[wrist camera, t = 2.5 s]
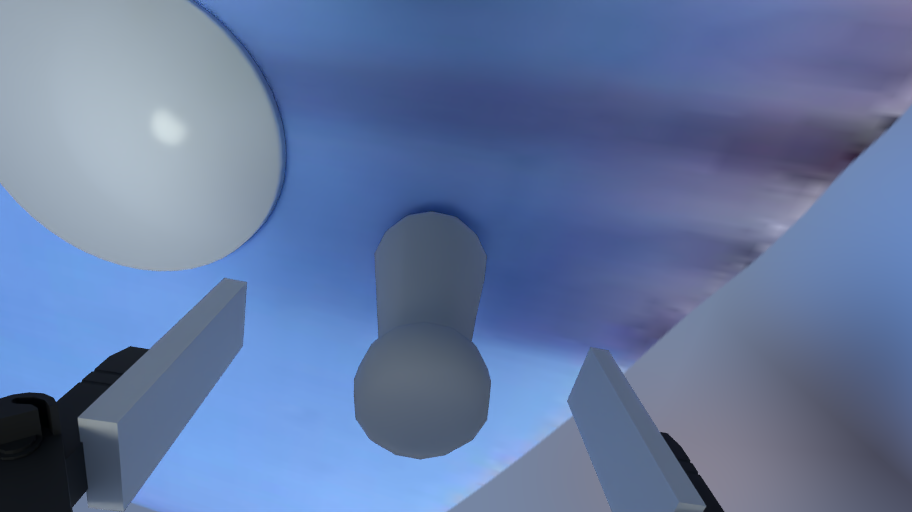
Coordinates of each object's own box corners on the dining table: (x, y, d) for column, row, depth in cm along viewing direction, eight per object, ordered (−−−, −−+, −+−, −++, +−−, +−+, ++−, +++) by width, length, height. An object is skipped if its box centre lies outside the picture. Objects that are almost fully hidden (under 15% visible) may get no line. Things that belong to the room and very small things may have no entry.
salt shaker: (442, 178, 23) (444, 298, 11) (501, 257, 25) (558, 433, 13) (359, 239, 24) (277, 408, 12) (421, 309, 26) (405, 515, 14)
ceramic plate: (154, -100, 17) (135, -111, 16) (338, 195, 23) (333, 201, 22) (-85, 64, 20) (-116, 63, 18) (134, 299, 25) (120, 310, 24)
